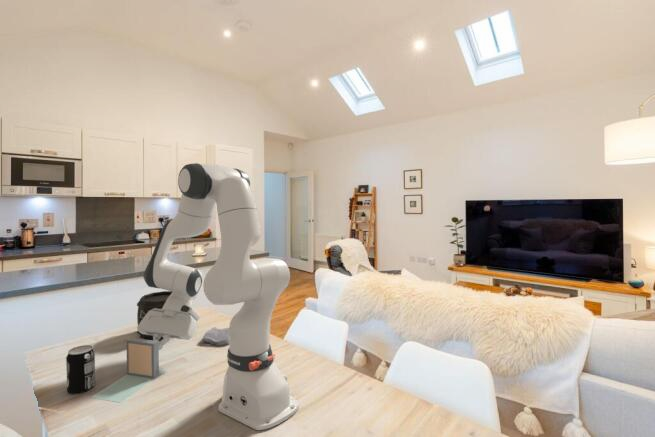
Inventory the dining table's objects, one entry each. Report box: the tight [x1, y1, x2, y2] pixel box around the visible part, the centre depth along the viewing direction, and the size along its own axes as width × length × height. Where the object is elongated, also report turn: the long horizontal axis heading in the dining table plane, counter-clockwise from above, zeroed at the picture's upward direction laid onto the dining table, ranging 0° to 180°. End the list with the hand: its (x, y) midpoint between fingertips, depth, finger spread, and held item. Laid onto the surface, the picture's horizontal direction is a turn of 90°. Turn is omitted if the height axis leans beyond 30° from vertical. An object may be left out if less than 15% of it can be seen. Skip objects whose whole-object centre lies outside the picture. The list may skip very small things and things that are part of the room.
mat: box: [90, 368, 167, 403], centre depth 99 cm, size 10×18×1 cm, turn 167°
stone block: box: [202, 327, 229, 346], centre depth 131 cm, size 12×5×10 cm
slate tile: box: [125, 337, 160, 380], centre depth 103 cm, size 2×10×11 cm, turn 77°
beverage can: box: [65, 344, 96, 395], centre depth 96 cm, size 7×7×12 cm
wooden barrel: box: [136, 290, 172, 341], centre depth 137 cm, size 18×18×16 cm
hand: (155, 348), depth 109 cm, fingers closed
